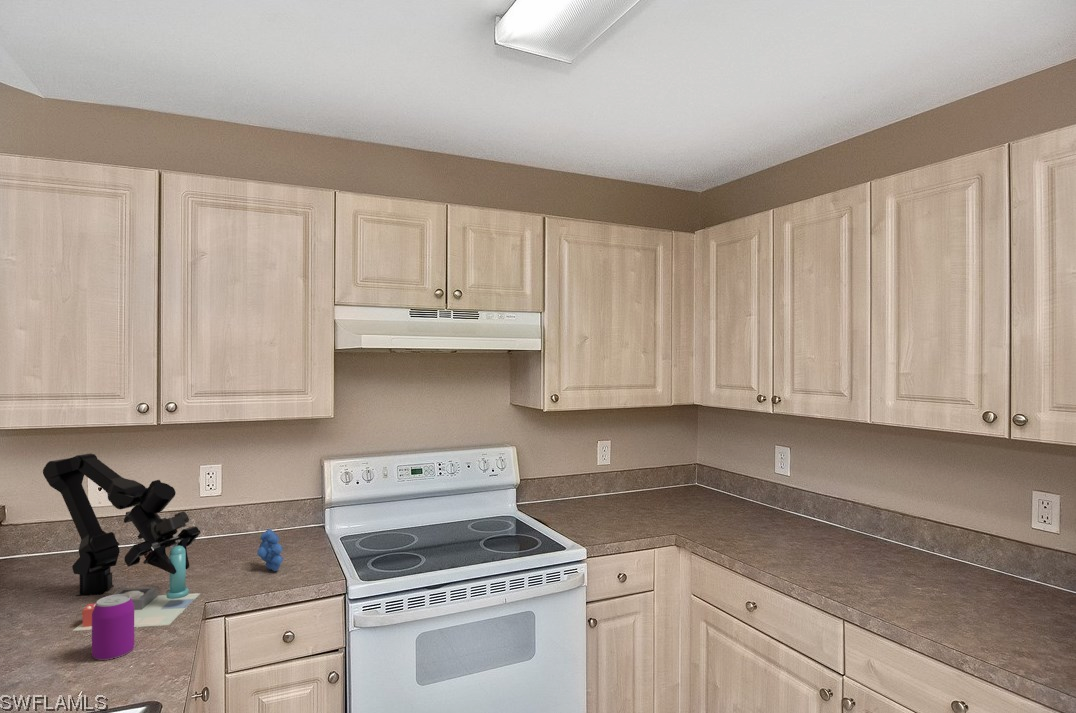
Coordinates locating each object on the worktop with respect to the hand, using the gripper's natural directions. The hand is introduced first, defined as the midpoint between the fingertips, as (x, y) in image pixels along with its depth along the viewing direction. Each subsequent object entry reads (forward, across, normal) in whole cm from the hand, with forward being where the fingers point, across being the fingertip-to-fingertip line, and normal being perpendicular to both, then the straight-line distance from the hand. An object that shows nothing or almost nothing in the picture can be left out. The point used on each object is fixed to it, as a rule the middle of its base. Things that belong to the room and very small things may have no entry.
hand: (181, 570), depth 162 cm
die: (-1, -15, +14) cm, 20 cm away
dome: (-3, -4, +15) cm, 16 cm away
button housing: (-3, -4, +15) cm, 16 cm away
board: (+2, -6, +11) cm, 13 cm away
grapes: (+8, +29, +5) cm, 30 cm away
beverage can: (+12, -24, +1) cm, 27 cm away
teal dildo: (+4, 0, +6) cm, 7 cm away
